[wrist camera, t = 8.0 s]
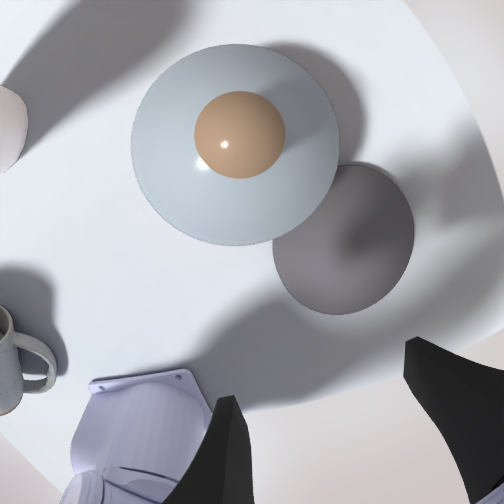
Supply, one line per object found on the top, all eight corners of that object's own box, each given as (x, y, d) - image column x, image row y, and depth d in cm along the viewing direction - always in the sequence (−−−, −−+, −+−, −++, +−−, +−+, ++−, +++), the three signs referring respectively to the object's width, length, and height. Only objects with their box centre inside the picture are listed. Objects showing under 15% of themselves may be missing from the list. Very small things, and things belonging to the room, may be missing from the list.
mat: (289, 327, 21) (291, 331, 20) (255, 184, 17) (256, 185, 17) (412, 286, 21) (416, 290, 20) (399, 154, 18) (404, 154, 17)
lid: (173, 266, 15) (155, 304, 11) (115, 88, 12) (77, 65, 8) (353, 209, 15) (395, 228, 11) (301, 34, 12) (327, -5, 8)
